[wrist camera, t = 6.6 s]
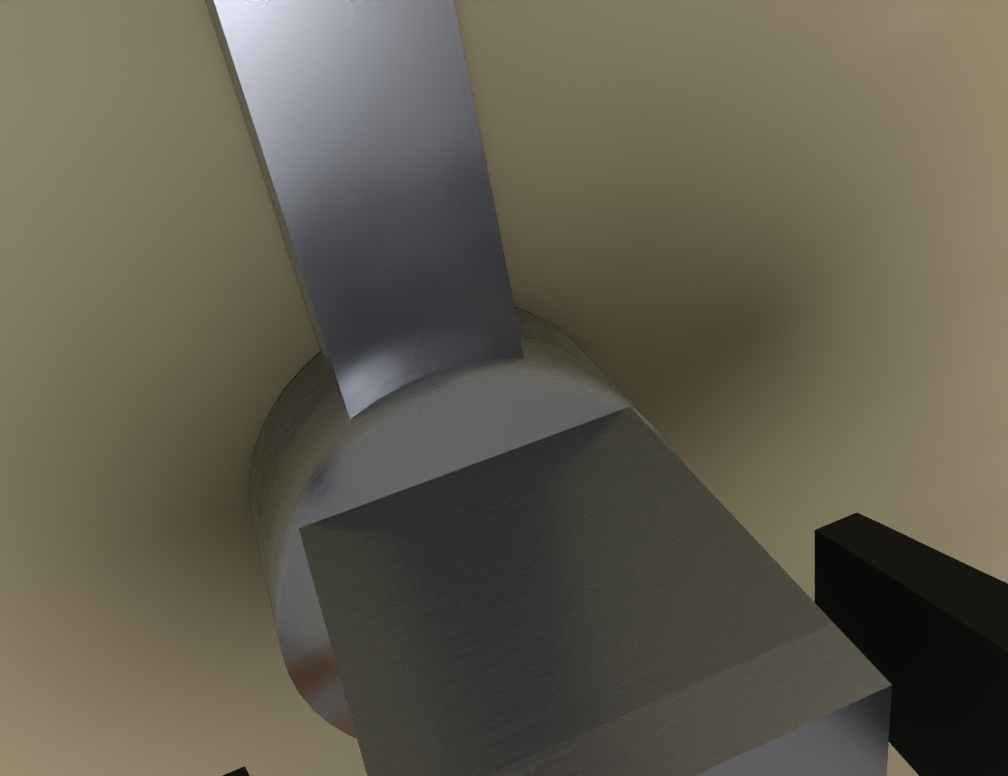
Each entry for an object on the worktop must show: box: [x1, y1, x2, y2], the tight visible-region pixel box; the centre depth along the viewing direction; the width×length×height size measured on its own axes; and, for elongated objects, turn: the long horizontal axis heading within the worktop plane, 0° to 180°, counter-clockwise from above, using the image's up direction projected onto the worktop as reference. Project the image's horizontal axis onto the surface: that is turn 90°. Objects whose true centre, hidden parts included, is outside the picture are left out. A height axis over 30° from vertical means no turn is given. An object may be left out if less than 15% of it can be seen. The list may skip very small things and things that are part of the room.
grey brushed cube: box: [298, 407, 892, 776], centre depth 11 cm, size 4×4×5 cm
